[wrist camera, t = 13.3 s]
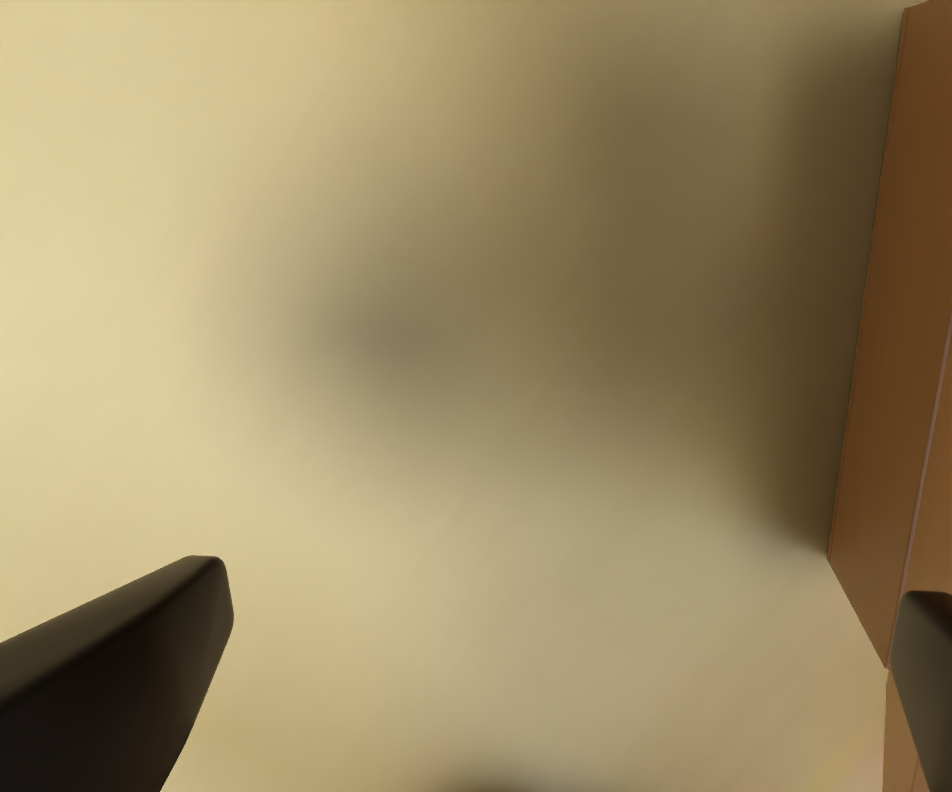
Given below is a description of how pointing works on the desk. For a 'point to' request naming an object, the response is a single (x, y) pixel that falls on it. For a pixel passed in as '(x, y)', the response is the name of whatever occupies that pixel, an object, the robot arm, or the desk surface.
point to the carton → (899, 333)
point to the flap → (924, 584)
